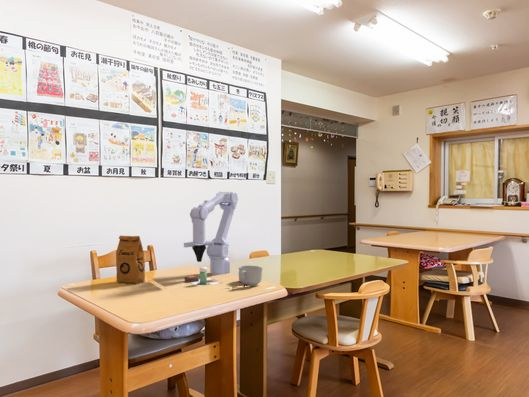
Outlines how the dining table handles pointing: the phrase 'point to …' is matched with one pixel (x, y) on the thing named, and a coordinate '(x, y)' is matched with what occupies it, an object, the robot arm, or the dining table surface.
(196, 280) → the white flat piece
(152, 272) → the dining table surface
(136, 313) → the dining table surface
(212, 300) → the dining table surface
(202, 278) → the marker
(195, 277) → the button
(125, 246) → the coffee package
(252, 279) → the teacup
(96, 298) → the dining table surface
